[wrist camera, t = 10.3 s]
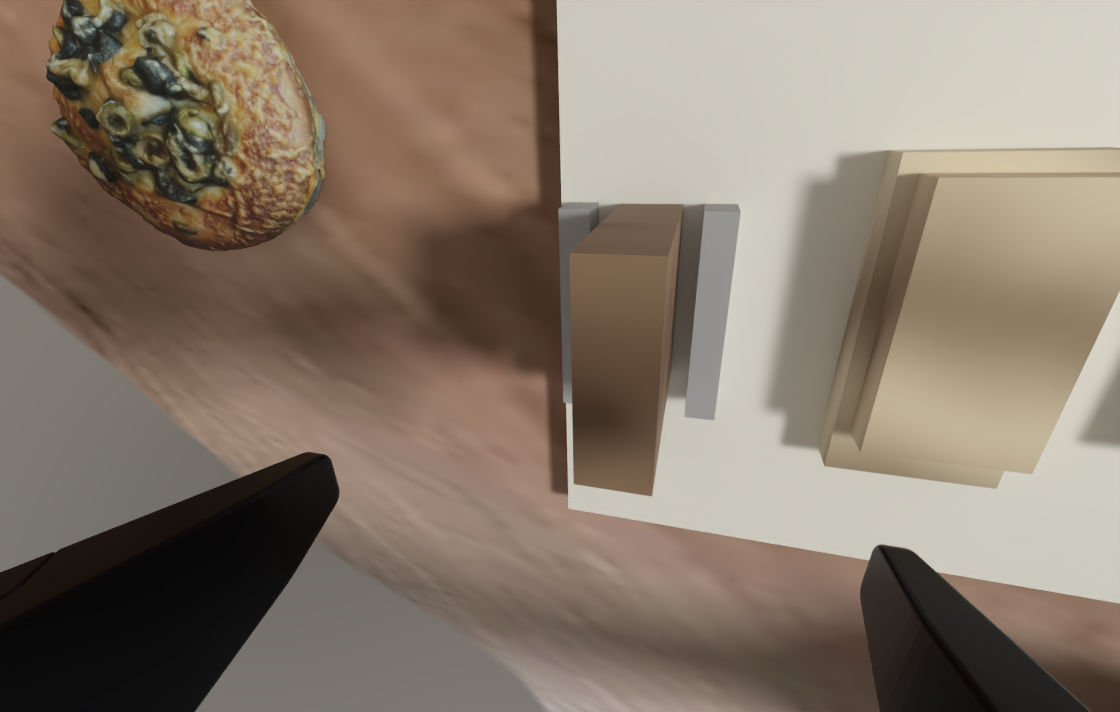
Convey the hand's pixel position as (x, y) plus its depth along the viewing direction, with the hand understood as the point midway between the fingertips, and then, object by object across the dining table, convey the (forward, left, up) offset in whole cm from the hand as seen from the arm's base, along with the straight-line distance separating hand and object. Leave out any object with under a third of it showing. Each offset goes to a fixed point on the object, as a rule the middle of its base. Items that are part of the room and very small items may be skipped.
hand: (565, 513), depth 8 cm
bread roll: (+7, +18, -12) cm, 23 cm away
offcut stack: (0, -9, -11) cm, 14 cm away
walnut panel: (0, 0, -11) cm, 11 cm away
